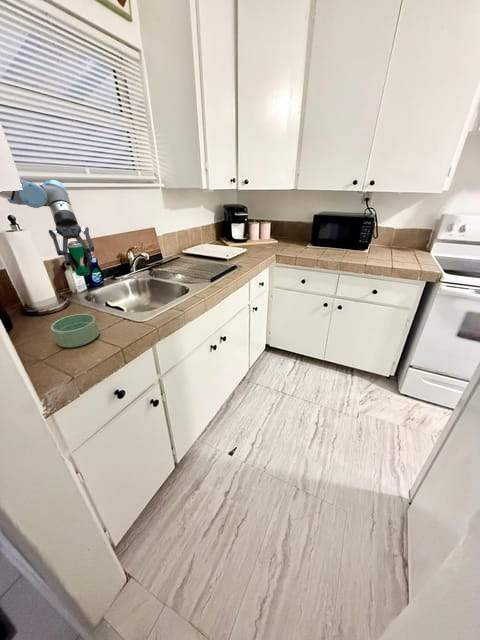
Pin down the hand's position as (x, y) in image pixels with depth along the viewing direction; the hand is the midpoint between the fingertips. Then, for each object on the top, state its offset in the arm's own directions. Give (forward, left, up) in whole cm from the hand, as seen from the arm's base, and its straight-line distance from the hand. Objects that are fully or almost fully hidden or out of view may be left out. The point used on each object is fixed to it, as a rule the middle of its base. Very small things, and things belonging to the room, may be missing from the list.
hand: (82, 268), depth 98 cm
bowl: (+9, -22, -17) cm, 29 cm away
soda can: (-2, +3, -4) cm, 5 cm away
